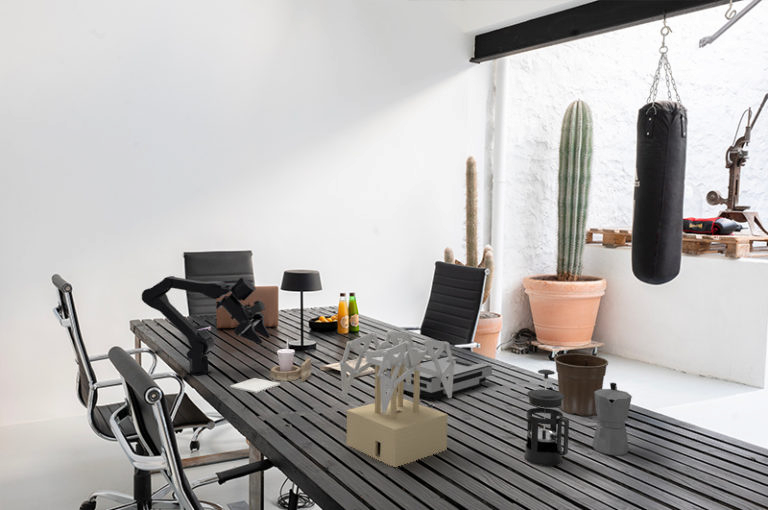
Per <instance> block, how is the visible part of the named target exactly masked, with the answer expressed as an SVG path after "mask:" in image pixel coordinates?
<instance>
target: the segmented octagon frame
mask: <svg viewBox="0 0 768 510" xmlns="http://www.w3.org/2000/svg"><path fill="white" fill-rule="evenodd" d="M310 376H312V358H311V357H310V358H307V359H305V361H304V362H302V364H301V366H297V365H294V364H293V366H292V371H290V372H280V366H279V365H277V366H276V365H275V366H273V367H271V368H270V379H272V378H273V380H274V379H275V380H274V381H277V380H281V381H280V382H291V381H296V379H297V380H300V382H301V381H305V380H307V379H308V378H309V377H310ZM305 382H306V381H305Z"/></svg>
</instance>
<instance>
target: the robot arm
mask: <svg viewBox="0 0 768 510" xmlns="http://www.w3.org/2000/svg"><path fill="white" fill-rule="evenodd" d="M171 289H177V290H183V291H188V292H194V293H199V294H201V295H204V296H205V297H208V298H209V299H213V300H217V299H220V298H222V299H221V300H217V301H216V302H215V303H216V307H215V309H216V310H219V309H221V308H223V309H224V310H225V311H226V312H227V313H228V314H229V315H230V319H231V320H232V321H233V320H234V321H236V322H237V323H238V324H237V325H236V327H235V328H234V330H233V333H234V334H235V335H236V336H237V337H241V338H244V339H246V340H250V341H252V342H254V343H257V344H259V345H262V343H263V340H262V339H261V337H260V336H259V335H261V336H262V337H263V338H266V339H269V338H270V337H271V335H270V334H269V331H268V330H267V327H266V325H265V314H264V313H263V311H265V310H266V307H265V303H264V302H263V301H261V300H260V299H258V300H255V301H254V302H253V305H250V306H248V305H247V304H245V305H244V304H243V303H242V302H241V301H244V302H245V301H246V300H247V299H248V298H249V297H251V295H252V294H253V293H254V292H255V291H256V289H257V288H256V286H255V285H254V284H253V283H252V282H251V281H249V280H248V279H246V278H244V277H240V278H239V279H238V280H237V282H236V283H235V284H234V285H229V284H227V283H226V282H224V281H221V280H220V281H219V280H218V281H217V280H216V281H215V280H214V281H201V280H195V279H194V280H193V279H187V278H182V277H176V276H174V275H169V276H166V277H164V278H163V279H162V280H160V281H159V282H158V283H156V284H155V285H153V286H152V287H149V288H146V289H144V290H143V291H142V293H141V301H142V302H143V303H144V304H146V305H147V306H149V308H152V309H154V310H157V311H159V312H160V313H161V314H162V315H163V316H164V317H165V318H166V319H167V320H168V321H169V322H170V323H171V324H172V325H173V326H174V327H175V328H177V330H178V331H179V332H181V334H183V336H184V337H186V339H187V341H188V344H189V346H190V349H189V350H188V351H187V352H186V356H187V357H186V358H187V359H189V370H188V371H186V374H189V375H195V376H201V375H205V374H208V373H212V370H210V369H209V359H208V358H209V357H208V355H209V354H210V351H211V350H212V349H213V348H214V346H215V340H214V338H213V335H212V334H210V333H209V332H208V331H207V329H206V328H203V329H202V330H201V329H198V328H196V327H195V326H194V325H193V324H192V323H191V321H189V320H188V319H187V318H186V317H185V316H184V315H183V314H182V313H181V312H180V311H179V310H178V309H177V308H176V307H175V306H174V305H172V303H171V302H170V300H169V298H168V295H167V293H168V292H169V291H171ZM228 294H229V295H228Z"/></svg>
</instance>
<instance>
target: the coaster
mask: <svg viewBox="0 0 768 510" xmlns="http://www.w3.org/2000/svg"><path fill="white" fill-rule="evenodd" d="M275 386H276V387H278V386H281V383H280V382H278V381H277V382H276V381H272V380H267V379H263V378H262V379H261V378H257V377H253V378H250V379H246V380H244V381H240V382H238V383H234V384H231V385H230V386H229V387H230V388H232V389H236V390H241V391H243V392H244V391H245V392H249V393H253V392H254V393H253V394H258V392H259V393H261V392H264V391H266V389H267V390H269V388H270V389H272V387H273V388H275ZM263 390H264V391H263ZM260 391H261V392H260Z"/></svg>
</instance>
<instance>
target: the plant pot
mask: <svg viewBox="0 0 768 510" xmlns="http://www.w3.org/2000/svg"><path fill="white" fill-rule="evenodd" d="M553 360H554V362H555V370H556V373H557V383H558V388H557V389H558V392H559V393H561V394H563V395H564V398H563V399H562V405H561V406H559V407H558V408H559V409H560V410H561V411H563V412H564V413H567V414H570V415H574V414H576V415H578V416H594V415H597V413H596V404H595V395H594V392H595V391H597V390H599V389H603V388H604V387H603V385H604V378H605V376H606V372H607V366H608V365H609V360H607V359H606V358H604V357H601V356H597V355H591V354H586V353H585V354H583V353H563V354H562V353H561V354H558V355H556V356H554V358H553Z"/></svg>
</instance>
